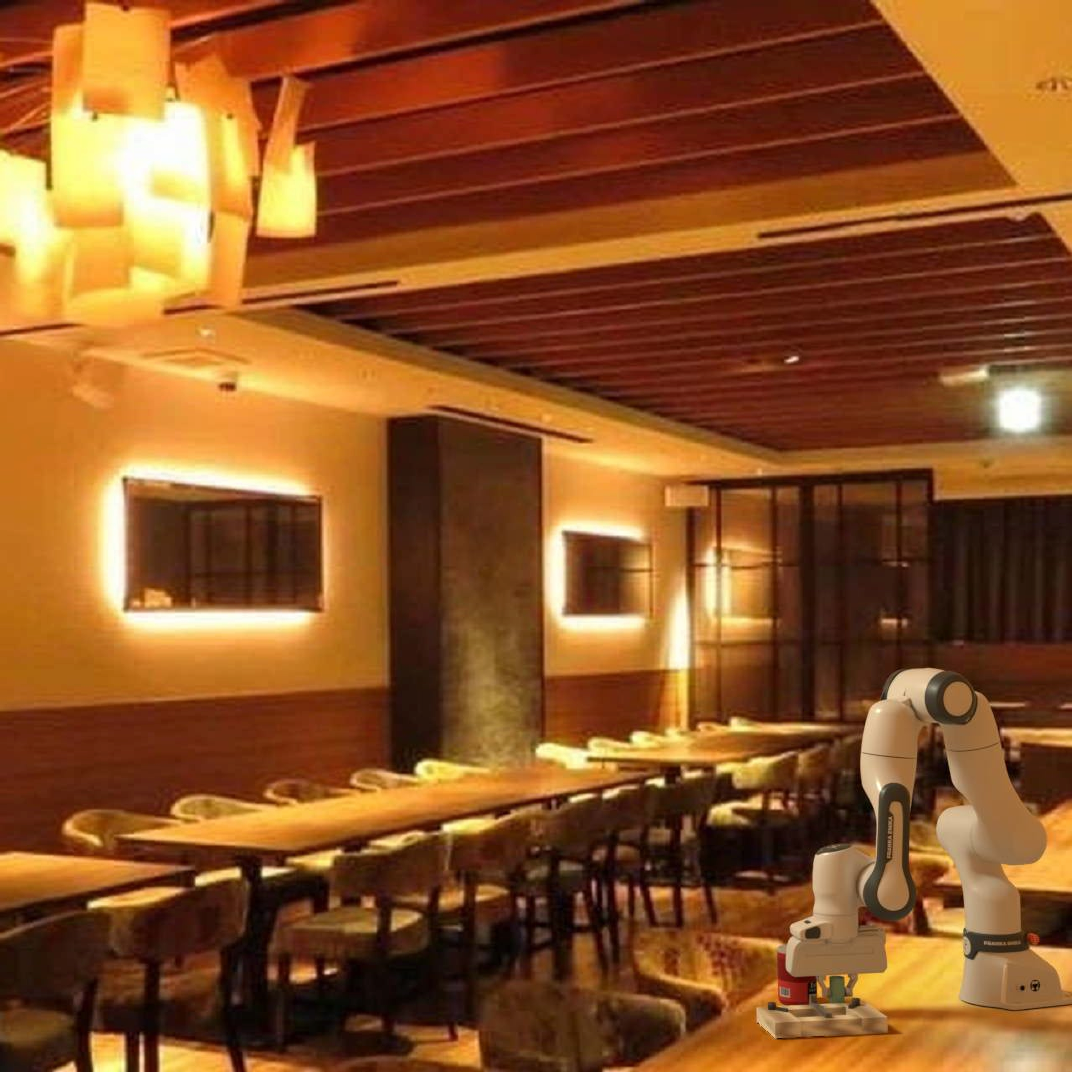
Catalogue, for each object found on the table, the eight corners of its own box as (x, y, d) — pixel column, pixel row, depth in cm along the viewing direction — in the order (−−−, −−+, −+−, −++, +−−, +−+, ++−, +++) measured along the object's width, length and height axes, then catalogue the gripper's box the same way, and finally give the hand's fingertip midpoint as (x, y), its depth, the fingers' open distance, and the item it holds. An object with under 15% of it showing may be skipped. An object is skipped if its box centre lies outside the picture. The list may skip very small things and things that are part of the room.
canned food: (817, 1007, 315) (815, 952, 316) (777, 1005, 317) (775, 951, 317) (817, 998, 322) (816, 944, 323) (778, 997, 324) (777, 943, 325)
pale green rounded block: (842, 1010, 312) (841, 975, 312) (847, 1014, 309) (846, 978, 310) (827, 1011, 312) (827, 975, 312) (832, 1015, 309) (832, 979, 309)
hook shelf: (864, 1017, 307) (864, 990, 307) (887, 1033, 295) (887, 1005, 295) (756, 1022, 303) (756, 995, 304) (775, 1039, 291) (774, 1010, 292)
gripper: (879, 921, 316) (881, 990, 315) (782, 925, 313) (783, 995, 312) (891, 927, 310) (893, 998, 309) (792, 931, 307) (793, 1003, 306)
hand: (837, 996), depth 311 cm, fingers closed on pale green rounded block, 3 cm apart
